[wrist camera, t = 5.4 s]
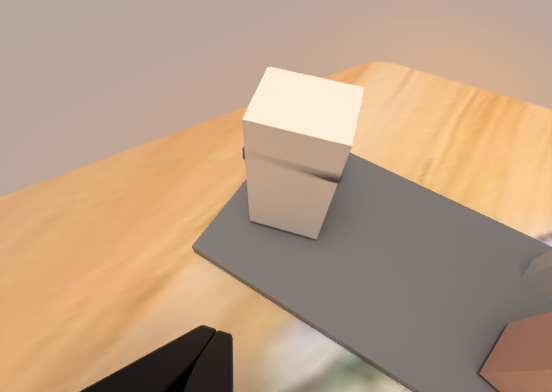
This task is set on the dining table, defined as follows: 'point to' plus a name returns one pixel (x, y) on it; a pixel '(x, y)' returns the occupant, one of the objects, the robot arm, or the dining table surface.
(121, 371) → the robot arm
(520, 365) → the salmon pink block
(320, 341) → the dining table surface
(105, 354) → the dining table surface
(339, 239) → the grey base plate
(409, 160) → the dining table surface
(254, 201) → the white tall rectangular block
